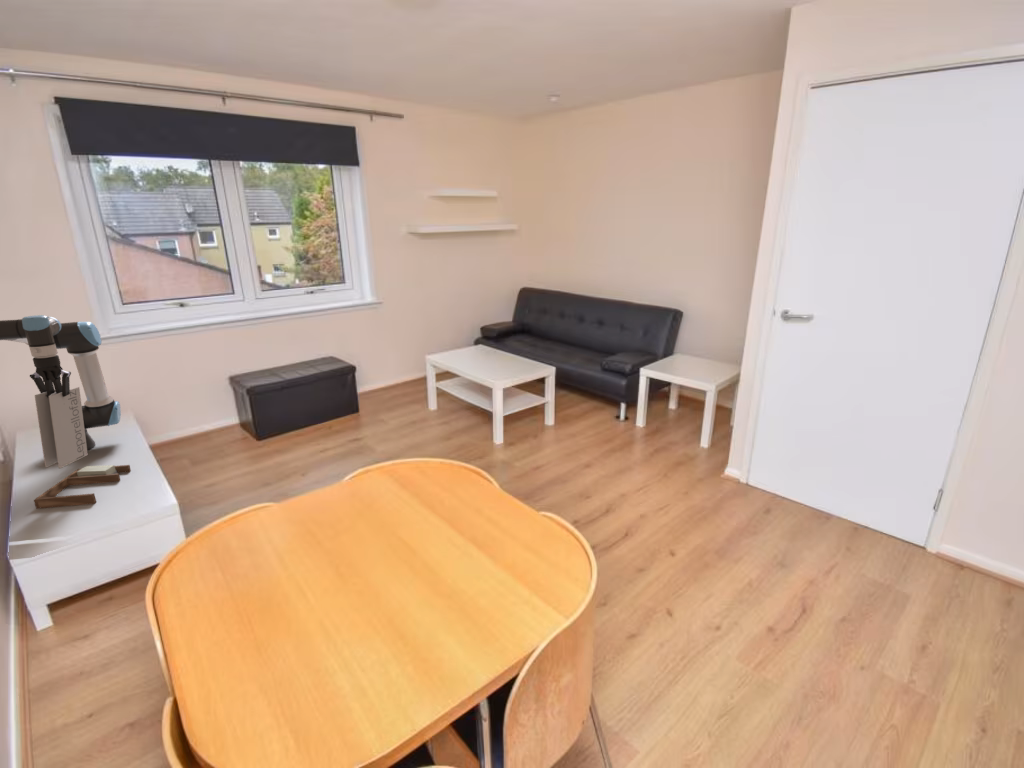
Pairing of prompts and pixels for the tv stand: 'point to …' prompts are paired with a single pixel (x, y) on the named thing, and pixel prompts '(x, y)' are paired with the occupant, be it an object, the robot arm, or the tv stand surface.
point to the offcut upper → (96, 470)
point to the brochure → (61, 427)
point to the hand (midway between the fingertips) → (61, 413)
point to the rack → (49, 496)
